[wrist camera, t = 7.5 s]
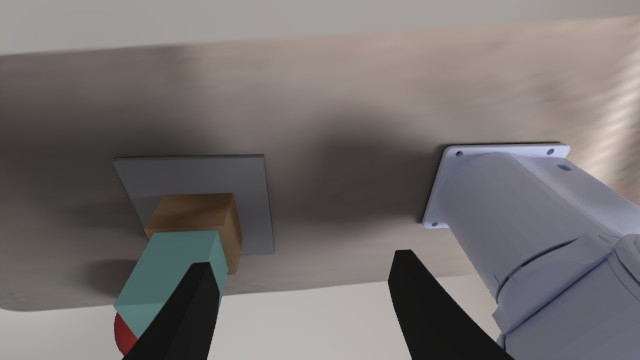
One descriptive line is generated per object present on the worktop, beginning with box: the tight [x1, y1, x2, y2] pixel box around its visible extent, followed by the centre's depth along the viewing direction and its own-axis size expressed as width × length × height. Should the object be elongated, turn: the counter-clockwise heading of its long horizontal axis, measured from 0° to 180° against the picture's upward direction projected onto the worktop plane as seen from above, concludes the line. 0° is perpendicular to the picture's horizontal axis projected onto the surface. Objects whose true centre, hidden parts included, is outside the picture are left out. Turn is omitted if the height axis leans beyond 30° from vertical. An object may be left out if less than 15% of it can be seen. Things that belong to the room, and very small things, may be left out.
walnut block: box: [143, 193, 243, 275], centre depth 21 cm, size 5×5×4 cm
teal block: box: [113, 230, 228, 339], centre depth 17 cm, size 4×4×5 cm
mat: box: [112, 155, 275, 255], centre depth 22 cm, size 10×10×1 cm
